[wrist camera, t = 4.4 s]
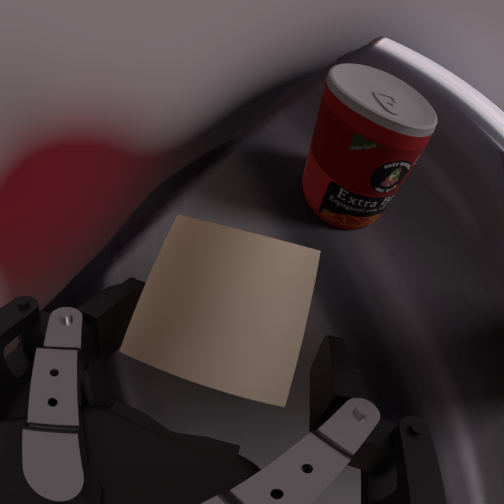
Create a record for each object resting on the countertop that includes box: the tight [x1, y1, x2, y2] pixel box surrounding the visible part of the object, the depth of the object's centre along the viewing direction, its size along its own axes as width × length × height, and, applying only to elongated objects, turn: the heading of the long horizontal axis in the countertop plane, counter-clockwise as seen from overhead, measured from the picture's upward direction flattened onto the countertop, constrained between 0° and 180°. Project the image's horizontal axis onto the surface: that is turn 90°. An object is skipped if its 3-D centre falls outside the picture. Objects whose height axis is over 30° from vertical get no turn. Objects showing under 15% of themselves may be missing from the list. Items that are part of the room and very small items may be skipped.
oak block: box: [119, 214, 321, 407], centre depth 12 cm, size 5×5×10 cm
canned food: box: [302, 64, 437, 230], centre depth 18 cm, size 8×8×11 cm
